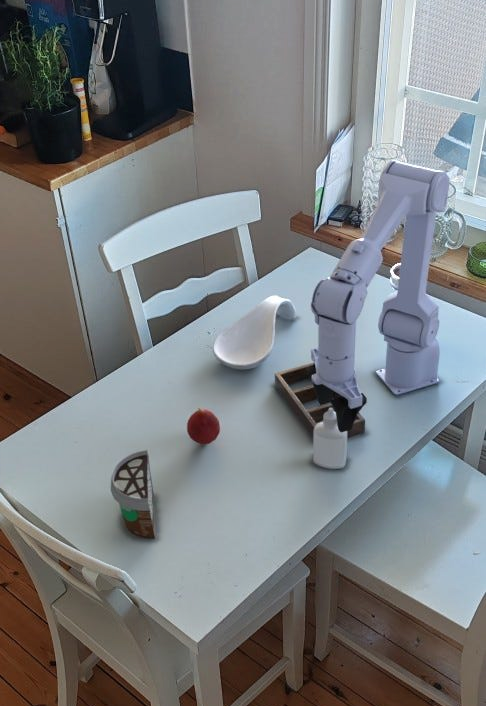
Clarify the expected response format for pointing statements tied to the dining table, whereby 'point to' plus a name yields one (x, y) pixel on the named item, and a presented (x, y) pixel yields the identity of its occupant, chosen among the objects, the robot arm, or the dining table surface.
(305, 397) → the spice rack
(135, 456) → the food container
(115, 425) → the dining table surface
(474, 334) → the dining table surface
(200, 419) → the onion
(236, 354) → the spoon rest
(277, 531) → the dining table surface
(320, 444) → the eye dropper bottle
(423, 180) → the robot arm
